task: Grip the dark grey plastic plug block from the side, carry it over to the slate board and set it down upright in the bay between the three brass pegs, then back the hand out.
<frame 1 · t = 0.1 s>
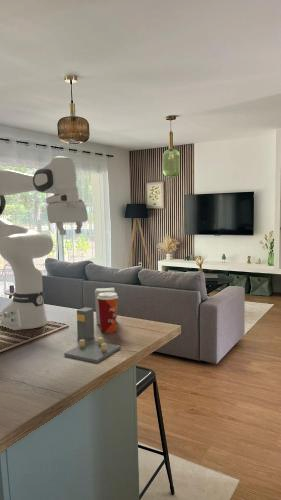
hand: (70, 234, 142), 39 cm above the worktop, tool pointing down, fingers open, 8 cm apart
coffee cup: (108, 331, 146), on the worktop
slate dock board: (93, 352, 123), on the worktop
plug block: (85, 337, 138), on the worktop
skincare box: (106, 323, 157), on the worktop
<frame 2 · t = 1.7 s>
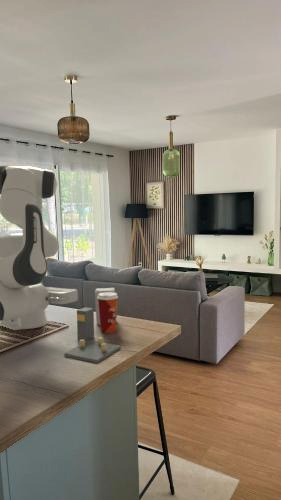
hand: (63, 290, 125), 20 cm above the worktop, tool horizontal, fingers open, 8 cm apart
nothing on the worktop moved.
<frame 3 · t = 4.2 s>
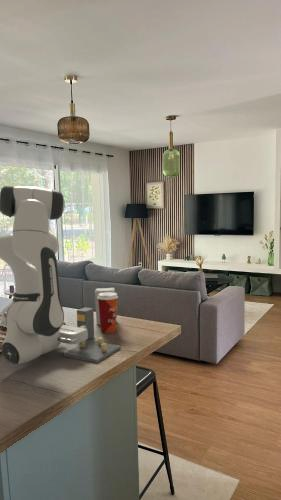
hand: (74, 326, 131), 6 cm above the worktop, tool horizontal, fingers open, 8 cm apart
nothing on the worktop moved.
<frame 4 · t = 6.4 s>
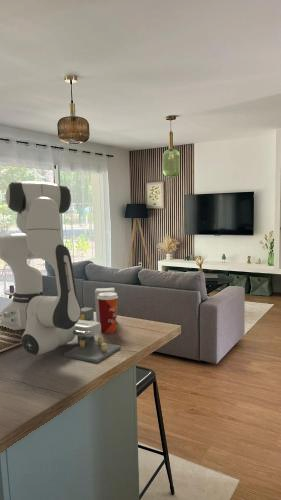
hand: (86, 320, 138), 7 cm above the worktop, tool horizontal, fingers closed on plug block, 4 cm apart
plug block: (85, 337, 138), on the worktop, touching gripper
everything else where it was.
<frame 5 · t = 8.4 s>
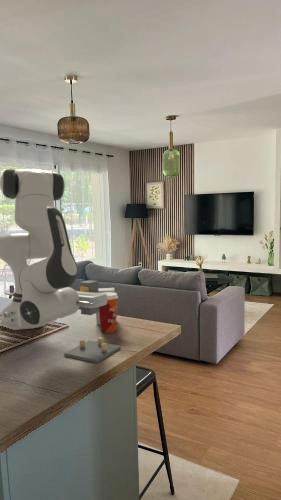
hand: (91, 294, 127), 19 cm above the worktop, tool horizontal, fingers closed on plug block, 4 cm apart
plug block: (90, 313, 127), point 12 cm above the worktop, touching gripper
everything else where it was.
when the fingers open (8 cm above the worktop, at t = 11.0 s): plug block stays where it is, resting on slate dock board.
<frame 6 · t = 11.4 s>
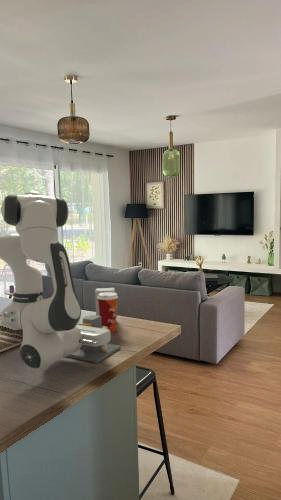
hand: (94, 326, 123), 8 cm above the worktop, tool horizontal, fingers open, 8 cm apart
plug block: (92, 349, 123), point 1 cm above the worktop, touching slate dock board
everything else where it was.
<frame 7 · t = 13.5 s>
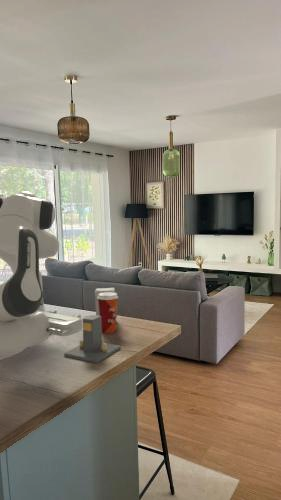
hand: (66, 314, 114), 15 cm above the worktop, tool horizontal, fingers open, 8 cm apart
nothing on the worktop moved.
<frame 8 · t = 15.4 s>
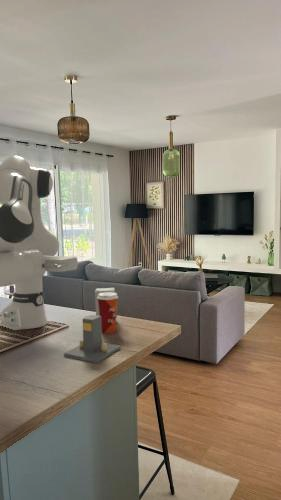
hand: (62, 259, 115), 32 cm above the worktop, tool horizontal, fingers open, 8 cm apart
nothing on the worktop moved.
at the end: plug block 0.0 cm from the target spot, point 1.0 cm above the worktop; plug block tilted 0°; the gripper is holding nothing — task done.
